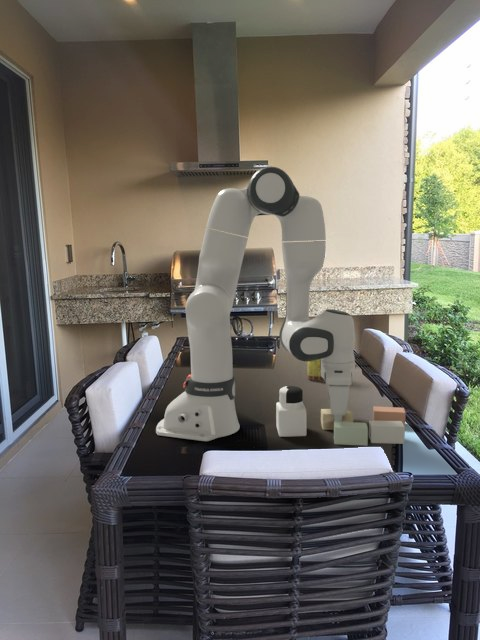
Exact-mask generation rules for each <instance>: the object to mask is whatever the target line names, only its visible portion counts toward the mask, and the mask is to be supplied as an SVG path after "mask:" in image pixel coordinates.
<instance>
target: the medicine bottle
mask: <svg viewBox="0 0 480 640" xmlns="http://www.w3.org/2000/svg"><path fill="white" fill-rule="evenodd" d="M278 395H279V399H278V400H279V401H277V402H276V404H275V406H276V407H275V410H276V412H275V419H276V421H275V422H276V423H275V424H276V429H277V433H278V437H279V438H281V437H282V438H283V437H284V438H287V437H306V436H307V426H308V425H307V422H308V421H307V417H308V416H307V415H308V413H307V411H308V410H307V409H306V407H305V405H304V403H303V400H304V399H303V396H304V395H303V389H302V388H301V387H299V386H295V385H285V386H282V387H281V388H280V389H279V393H278Z"/></svg>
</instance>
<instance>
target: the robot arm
mask: <svg viewBox="0 0 480 640" xmlns="http://www.w3.org/2000/svg"><path fill="white" fill-rule="evenodd" d="M257 216H275V217H276V218H277V219H278V220H279V222H280V226H281V251H282V261H283V266H284V272H285V281H286V291H285V293H286V295H285V296H286V298H285V305H286V306H285V317H284V320H283V322H282V325H281V327H280V330H279V335H278V337H279V342H280V345H281V346H282V347H283V349H284V350H285V351H287V352H288V353H289V354H291V355H292V357H294V358H295V359H297V360H299V361H301V362H307V361H313V360H318V359H321V377H322V378H323V380H324V382H325V385H326V386H327V391H328V398H329V406H330V407H329V409H331V413H332V415H334V422H342V415H345V414H346V411H347V409H348V402H349V394H350V386H352V384H353V380H354V378H355V374H356V372H355V368H356V367H355V366H356V365H355V364H356V363H355V362H356V358H355V354H354V349H355V346H356V333H355V332H356V330H355V329H356V328H355V322H354V318H353V316H352V315H351V314H350V313H348V312H346V311H342V310H338V309H332V308H331V309H330V308H328V309H325V310H323V311H322V313H320V314H319V315H317V316H316V317H313V318H311V319H310V313H309V312H310V310H309V309H310V290H311V285H312V282H313V280H314V278H315V277H316V276H317V274H318V273H320V272H321V270H322V268H323V266H324V262H325V257H326V251H327V250H326V248H327V247H326V243H327V240H326V239H327V238H326V223H325V217H324V211H323V208H322V204H321V203H320V201H319V200H317V198H314V197H313V196H304V195H300V192H299V191H298V189H297V188H296V186H295V184H294V182H293V180H292V178H291V177H290V176H289V175H288V173H287V172H286V171H284V169H281V168H279V167H277V166H265V167H262V168H260V169H259V170H256V172H255V173H254V174H252V176H251V177H250V180H249V182H248V185H247V186H246V187H245V188H242V189H239V188H234V187H232V188H231V187H229V188H224V189H222V190H220V191H219V192H218V193H217V194H216V196H215V199H214V201H213V204H212V206H211V208H210V212H209V215H208V218H207V223H206V225H205V226H206V227H205V229H204V230H205V231H204V234H203V239H202V244H201V248H200V252H199V256H198V257H199V258H198V267H197V274H196V280H195V284H194V285H195V287H194V290H193V292H191V293H190V294H189V296H188V297H187V299H186V302H185V309H184V311H185V318H186V319H185V320H186V328H187V330H186V331H187V337H188V342H189V343H188V344H189V352H190V372H191V373H190V374H188V376H186V379H185V380H184V381H183V382H184V383H183V384H182V385H183V386H182V387H183V389H184V391H183V392H182V393H181V394H179V395H178V396H177V397H176V398H174V399H173V400H172V401H170V403H169V404H168V405H167V407H166V408H165V412H164V418H163V419H161V420H160V421H159V422H158V423H157V425H156V427H155V433H156V434H157V436H162V437H170V438H177V439H185V440H193V441H199V442H200V441H201V442H209V441H210V442H211V441H212V440H215V439H218V438H222V437H227V436H230V435H232V434H235V433H237V432H238V431H239V430H240V423H239V420H238V416H237V411H236V405H235V396H236V383H235V376H234V375H233V373H234V372H233V345H232V335H231V334H232V333H231V317H230V316H231V312H232V309H233V305H234V301H235V296H236V292H237V287H238V283H239V278H240V274H241V268H242V265H243V260H244V255H245V252H246V247H247V242H248V239H249V235H250V230H251V226H252V223H253V221H254V219H255V217H257Z"/></svg>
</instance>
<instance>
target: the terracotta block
mask: <svg viewBox="0 0 480 640" xmlns="http://www.w3.org/2000/svg"><path fill="white" fill-rule="evenodd" d="M372 407H373V408H372V409H373V410H372V421H402V423H403V425H404V426H405V427H406V410H405V408H404V407H397V406H396V407H393V406H374V405H373V406H372Z"/></svg>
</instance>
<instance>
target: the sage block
mask: <svg viewBox="0 0 480 640" xmlns="http://www.w3.org/2000/svg"><path fill="white" fill-rule="evenodd" d="M368 440H369V426H368V424H367V422H354V421H353V422H334V430H333V443H334V445H345V446H346V445H347V446H366V447H367V446H368V445H369V444H368V443H369V442H368Z"/></svg>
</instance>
